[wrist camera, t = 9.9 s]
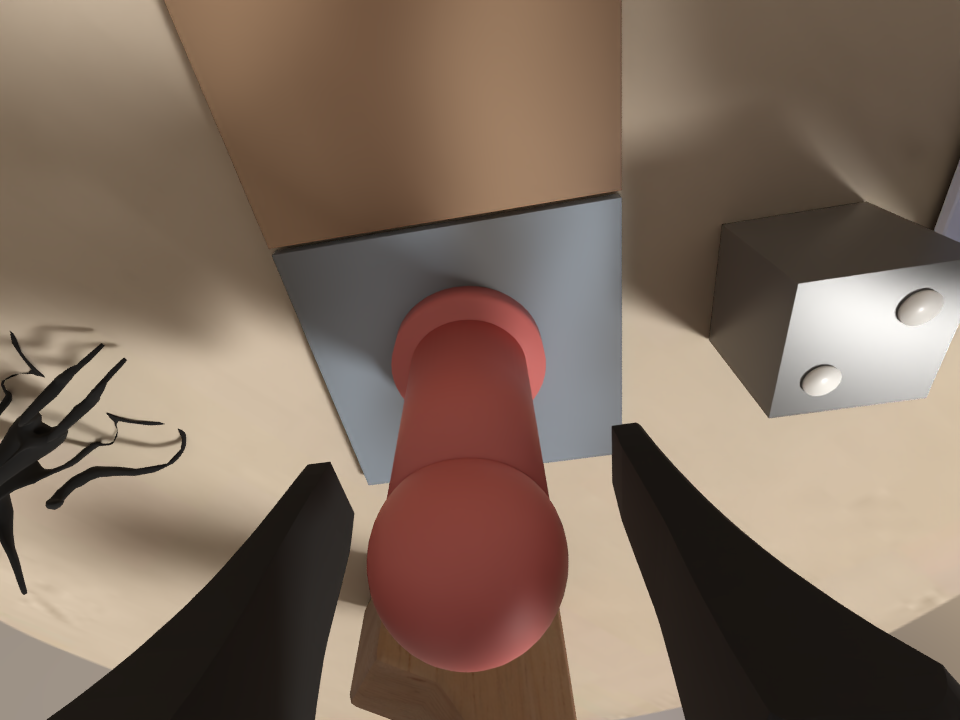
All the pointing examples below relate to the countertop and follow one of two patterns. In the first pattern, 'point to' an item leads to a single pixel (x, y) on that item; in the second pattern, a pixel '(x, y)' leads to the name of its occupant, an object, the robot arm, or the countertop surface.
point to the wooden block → (461, 681)
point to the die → (834, 307)
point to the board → (431, 182)
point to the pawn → (468, 488)
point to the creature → (51, 449)
